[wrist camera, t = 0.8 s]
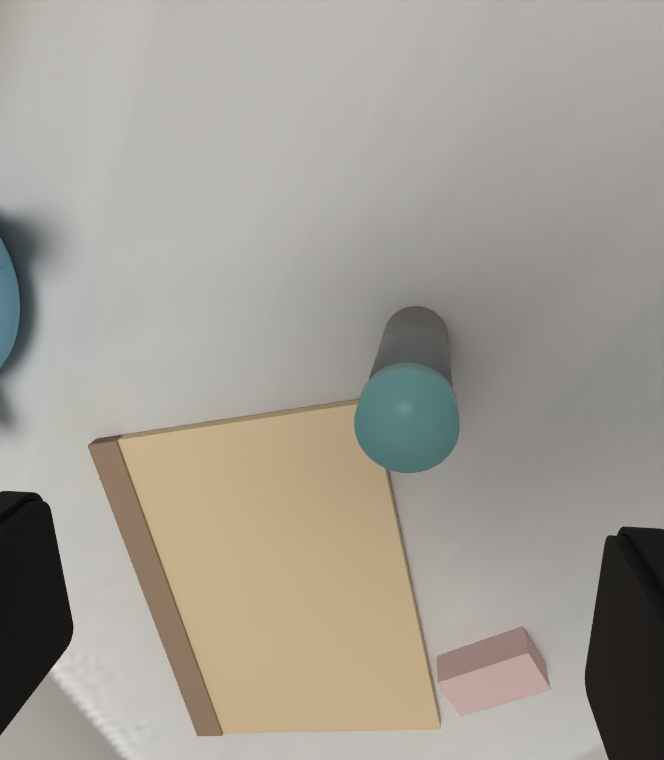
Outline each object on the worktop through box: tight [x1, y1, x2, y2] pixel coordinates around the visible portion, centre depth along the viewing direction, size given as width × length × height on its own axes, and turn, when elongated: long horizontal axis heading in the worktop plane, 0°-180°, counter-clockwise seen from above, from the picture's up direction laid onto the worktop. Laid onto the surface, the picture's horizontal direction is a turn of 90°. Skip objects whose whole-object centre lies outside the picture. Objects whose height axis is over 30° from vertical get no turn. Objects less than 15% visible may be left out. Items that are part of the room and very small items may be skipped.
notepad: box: [88, 399, 441, 736], centre depth 37 cm, size 18×24×1 cm
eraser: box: [438, 626, 551, 716], centre depth 36 cm, size 6×3×2 cm, turn 122°
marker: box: [354, 307, 459, 473], centre depth 25 cm, size 4×4×12 cm
